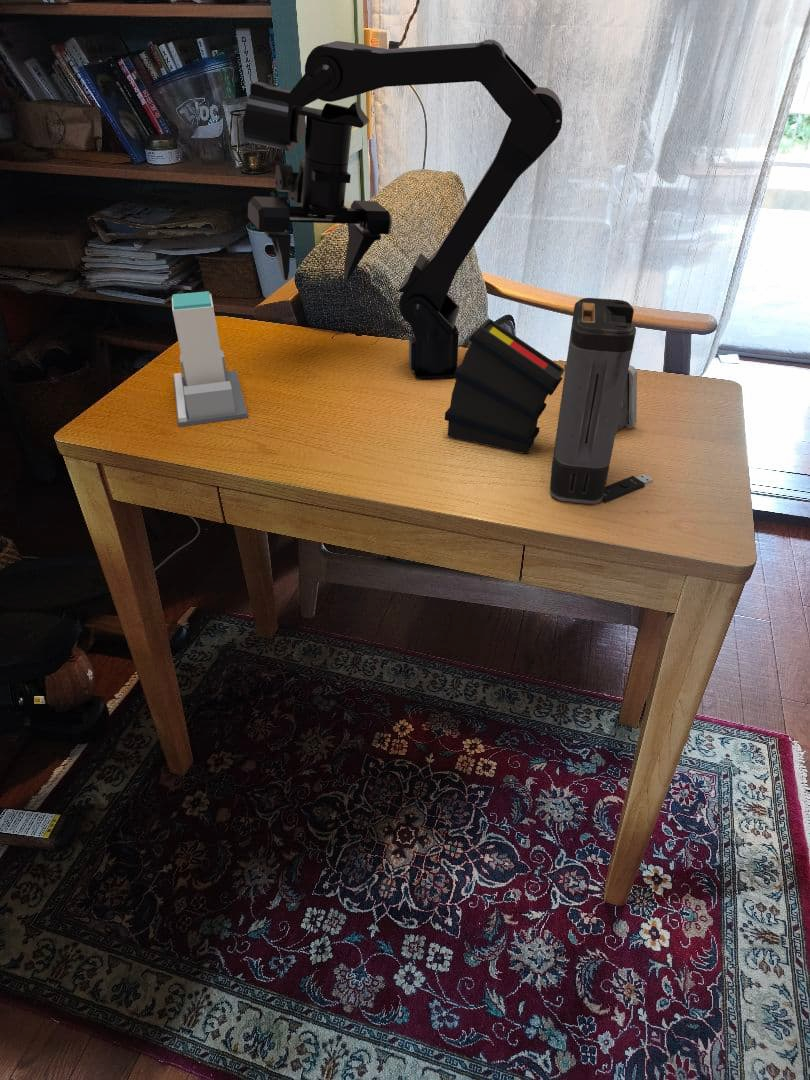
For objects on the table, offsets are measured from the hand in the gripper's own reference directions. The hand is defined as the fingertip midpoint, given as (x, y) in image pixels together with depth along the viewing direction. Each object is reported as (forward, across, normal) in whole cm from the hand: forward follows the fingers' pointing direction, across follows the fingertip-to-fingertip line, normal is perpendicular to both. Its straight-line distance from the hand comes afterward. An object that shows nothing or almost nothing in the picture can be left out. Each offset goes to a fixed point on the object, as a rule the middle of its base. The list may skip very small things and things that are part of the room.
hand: (316, 278), depth 104 cm
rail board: (+14, +17, +6) cm, 23 cm away
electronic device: (+6, -16, +45) cm, 48 cm away
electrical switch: (+6, -28, +34) cm, 44 cm away
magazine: (+8, -13, +33) cm, 37 cm away
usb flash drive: (+6, -21, +48) cm, 53 cm away
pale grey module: (+14, +17, +6) cm, 22 cm away
